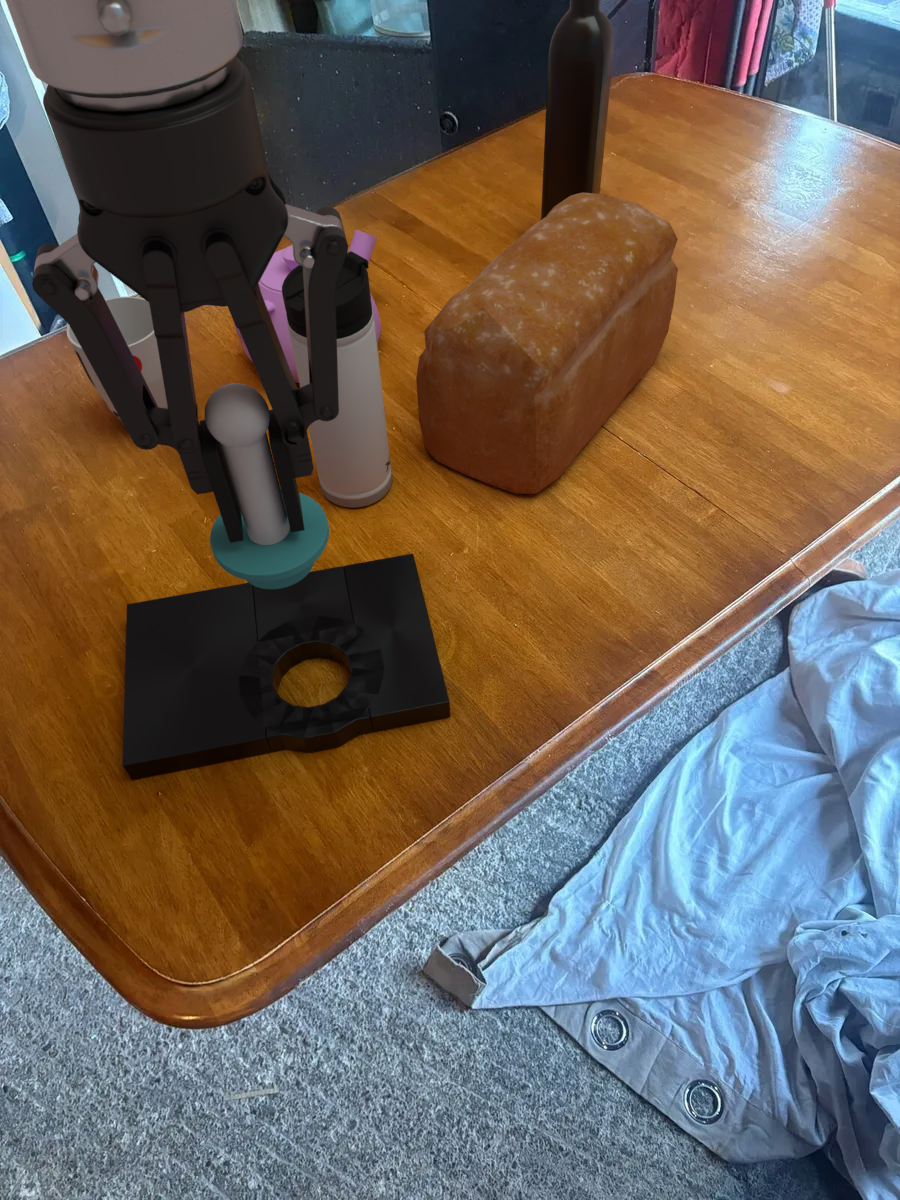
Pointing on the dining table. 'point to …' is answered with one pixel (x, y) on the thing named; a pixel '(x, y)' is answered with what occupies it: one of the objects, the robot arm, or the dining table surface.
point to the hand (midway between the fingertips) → (265, 518)
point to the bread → (547, 342)
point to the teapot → (273, 296)
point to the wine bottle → (576, 103)
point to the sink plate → (276, 666)
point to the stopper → (259, 497)
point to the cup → (131, 346)
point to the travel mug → (346, 390)
